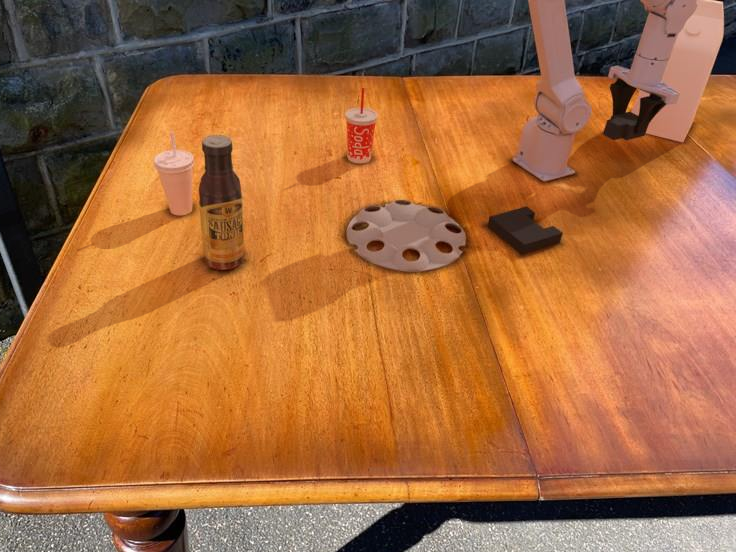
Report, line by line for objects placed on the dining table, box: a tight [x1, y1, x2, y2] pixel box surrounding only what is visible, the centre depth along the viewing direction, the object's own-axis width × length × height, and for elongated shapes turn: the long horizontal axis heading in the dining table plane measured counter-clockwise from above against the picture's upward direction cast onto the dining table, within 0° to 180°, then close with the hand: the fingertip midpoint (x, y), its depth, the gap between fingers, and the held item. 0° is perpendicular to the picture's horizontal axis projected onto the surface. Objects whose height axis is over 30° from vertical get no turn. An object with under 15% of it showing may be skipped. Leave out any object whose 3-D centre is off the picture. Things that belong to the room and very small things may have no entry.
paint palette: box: [346, 199, 467, 273], centre depth 104 cm, size 20×20×2 cm
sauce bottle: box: [198, 134, 245, 271], centre depth 92 cm, size 6×6×20 cm
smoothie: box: [153, 130, 195, 216], centre depth 104 cm, size 6×6×14 cm
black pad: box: [487, 206, 564, 255], centre depth 105 cm, size 9×8×2 cm
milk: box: [631, 0, 725, 143], centre depth 132 cm, size 12×12×26 cm
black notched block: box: [602, 111, 648, 141], centre depth 122 cm, size 5×7×3 cm
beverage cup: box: [344, 87, 379, 165], centre depth 120 cm, size 6×6×14 cm
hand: (627, 126), depth 122 cm, fingers closed on black notched block, 5 cm apart
